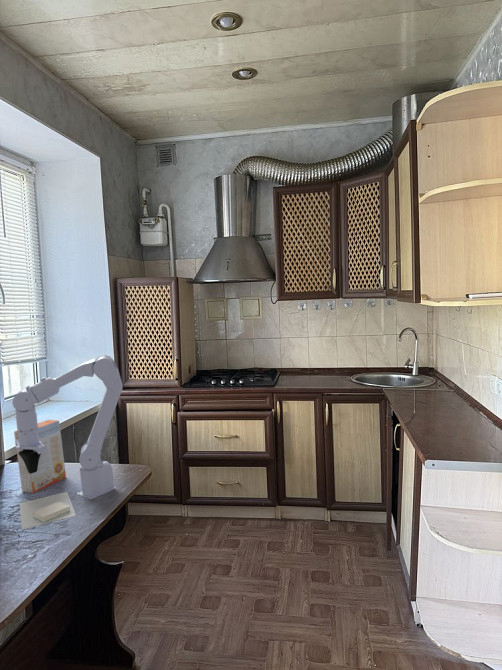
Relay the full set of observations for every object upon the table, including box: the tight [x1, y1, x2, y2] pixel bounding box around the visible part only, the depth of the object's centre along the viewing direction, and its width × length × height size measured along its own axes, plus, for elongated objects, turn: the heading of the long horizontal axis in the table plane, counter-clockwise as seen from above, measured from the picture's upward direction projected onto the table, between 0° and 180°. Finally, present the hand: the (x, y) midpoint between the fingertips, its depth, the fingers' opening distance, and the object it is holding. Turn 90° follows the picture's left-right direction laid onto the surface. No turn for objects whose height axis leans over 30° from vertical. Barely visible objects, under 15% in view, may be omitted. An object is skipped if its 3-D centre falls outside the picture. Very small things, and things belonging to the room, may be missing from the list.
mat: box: [19, 491, 77, 530], centre depth 143 cm, size 20×14×1 cm
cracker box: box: [13, 419, 67, 494], centre depth 162 cm, size 14×6×21 cm, turn 154°
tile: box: [33, 502, 70, 522], centre depth 139 cm, size 8×2×6 cm
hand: (32, 472), depth 148 cm, fingers closed
